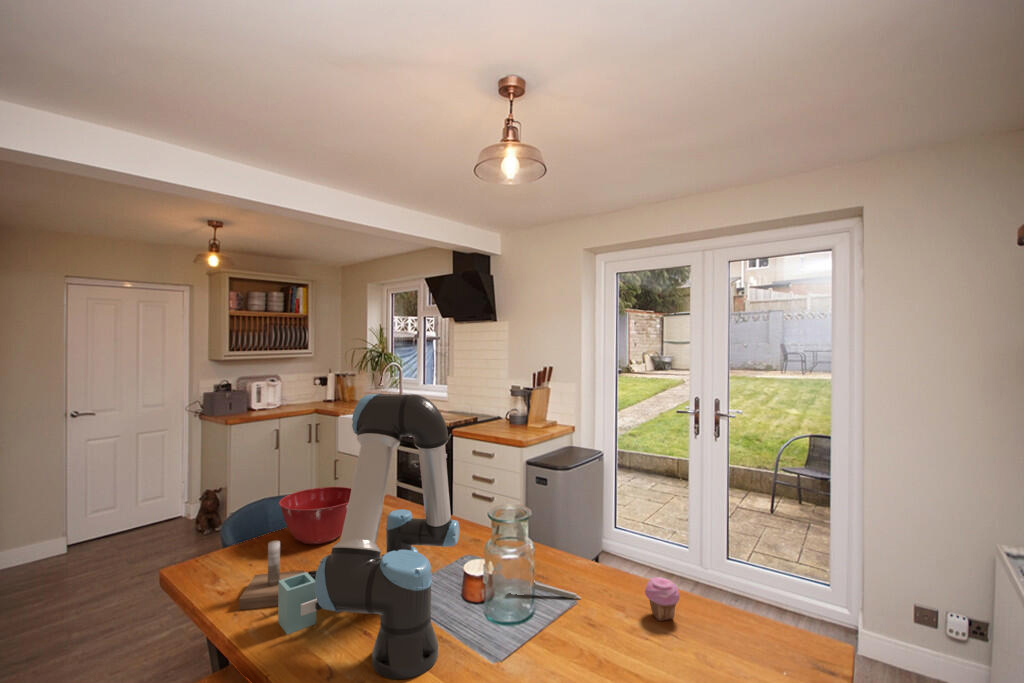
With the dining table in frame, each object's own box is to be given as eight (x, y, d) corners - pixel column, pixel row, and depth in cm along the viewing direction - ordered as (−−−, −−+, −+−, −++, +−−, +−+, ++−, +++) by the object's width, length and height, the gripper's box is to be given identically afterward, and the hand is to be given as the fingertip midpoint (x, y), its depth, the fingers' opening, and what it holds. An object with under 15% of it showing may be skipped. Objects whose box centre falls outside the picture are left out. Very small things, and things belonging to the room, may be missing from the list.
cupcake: (656, 628, 124) (656, 589, 124) (639, 610, 132) (639, 574, 132) (686, 623, 126) (686, 585, 126) (667, 605, 134) (667, 570, 134)
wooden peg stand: (293, 604, 134) (294, 550, 134) (239, 609, 131) (239, 555, 131) (304, 580, 148) (304, 531, 148) (255, 584, 145) (255, 535, 145)
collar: (315, 623, 125) (316, 581, 125) (286, 634, 120) (287, 591, 120) (306, 612, 130) (306, 571, 130) (278, 622, 125) (278, 580, 125)
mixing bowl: (279, 530, 187) (280, 490, 188) (355, 519, 200) (355, 482, 200) (277, 559, 162) (278, 514, 162) (364, 545, 174) (364, 502, 174)
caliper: (511, 594, 140) (511, 573, 141) (511, 592, 142) (511, 571, 142) (580, 600, 137) (580, 578, 137) (580, 598, 138) (580, 577, 138)
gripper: (389, 603, 129) (309, 635, 115) (350, 571, 148) (277, 594, 134) (389, 576, 130) (309, 604, 115) (351, 547, 148) (278, 568, 134)
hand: (292, 599), depth 125 cm, fingers open, 13 cm apart
